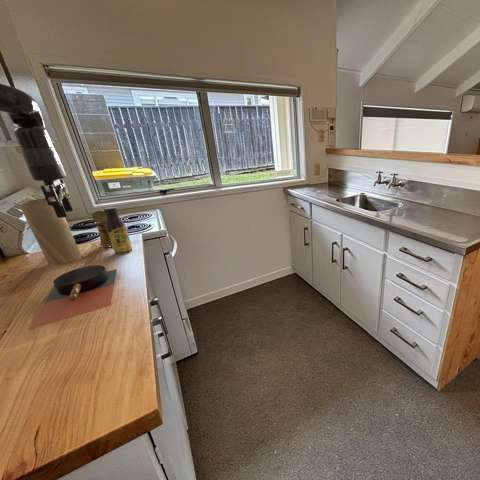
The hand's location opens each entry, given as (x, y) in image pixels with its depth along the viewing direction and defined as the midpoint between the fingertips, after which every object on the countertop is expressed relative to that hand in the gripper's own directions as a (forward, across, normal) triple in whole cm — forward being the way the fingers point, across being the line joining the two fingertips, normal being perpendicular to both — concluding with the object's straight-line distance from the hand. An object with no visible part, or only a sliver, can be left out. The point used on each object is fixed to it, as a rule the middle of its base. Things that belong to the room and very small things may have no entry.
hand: (66, 214), depth 85 cm
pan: (+22, +14, 0) cm, 26 cm away
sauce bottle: (+23, -15, +9) cm, 29 cm away
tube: (+23, -21, -11) cm, 33 cm away
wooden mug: (+23, -29, +4) cm, 37 cm away
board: (+23, +16, 0) cm, 28 cm away
